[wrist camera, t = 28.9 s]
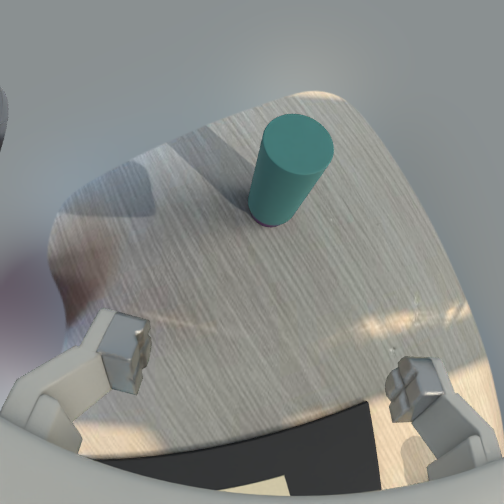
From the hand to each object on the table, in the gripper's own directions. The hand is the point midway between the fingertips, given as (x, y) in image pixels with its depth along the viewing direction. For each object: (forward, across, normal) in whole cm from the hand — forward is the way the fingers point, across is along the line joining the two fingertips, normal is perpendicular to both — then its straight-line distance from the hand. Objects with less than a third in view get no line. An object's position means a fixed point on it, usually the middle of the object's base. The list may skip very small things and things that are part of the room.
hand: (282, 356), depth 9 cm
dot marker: (+16, 0, +3) cm, 17 cm away
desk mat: (-4, -4, +22) cm, 23 cm away
